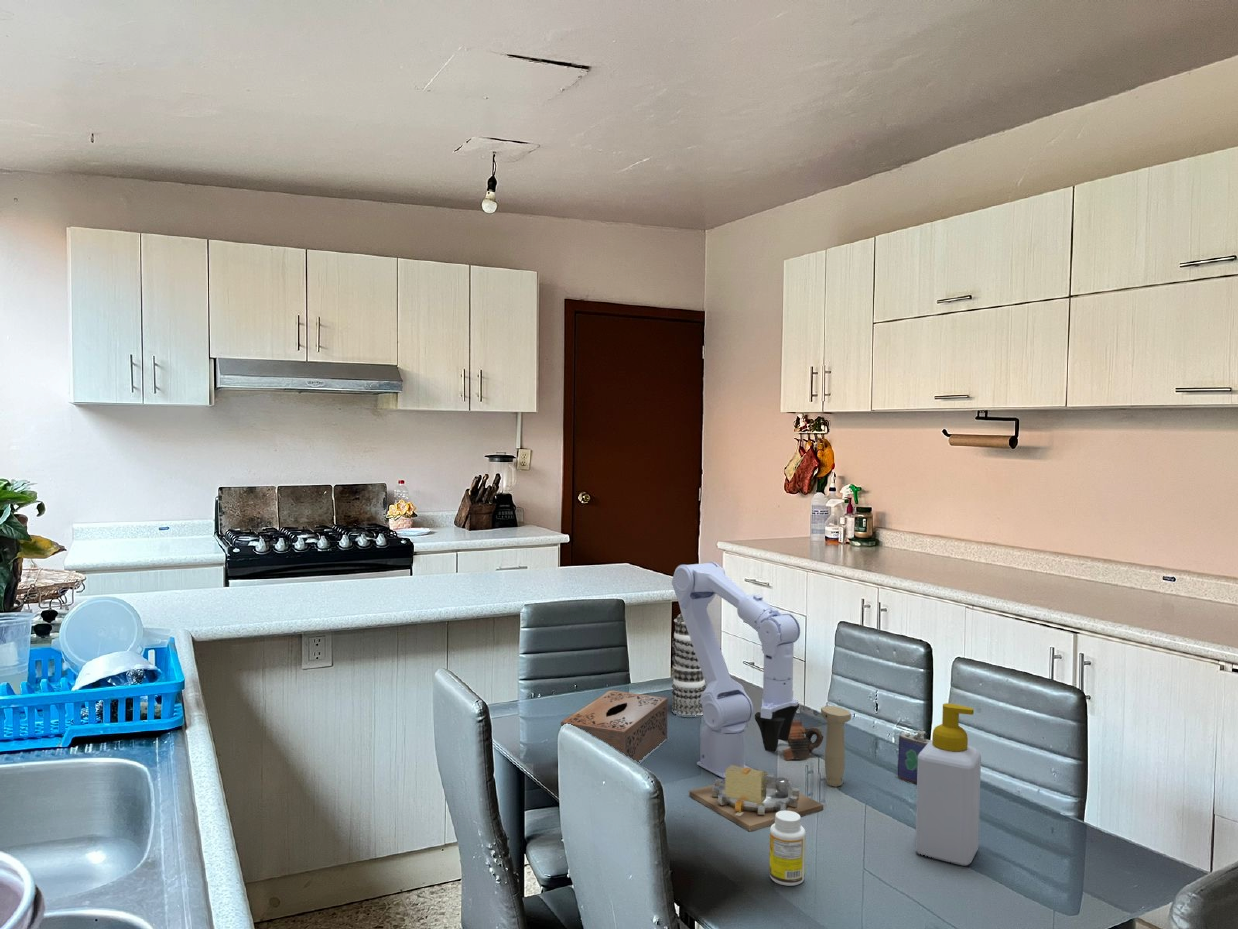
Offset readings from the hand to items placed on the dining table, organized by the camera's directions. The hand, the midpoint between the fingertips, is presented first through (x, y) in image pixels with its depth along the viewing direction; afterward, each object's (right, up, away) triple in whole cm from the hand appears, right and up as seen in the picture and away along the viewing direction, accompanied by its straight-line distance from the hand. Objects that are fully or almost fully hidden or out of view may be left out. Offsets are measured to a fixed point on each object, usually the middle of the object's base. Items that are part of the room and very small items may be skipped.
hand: (776, 745), depth 177 cm
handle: (+13, -10, +5) cm, 16 cm away
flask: (+30, -10, +6) cm, 32 cm away
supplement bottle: (-4, -11, -34) cm, 36 cm away
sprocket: (-5, -8, -5) cm, 11 cm away
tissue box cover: (-32, -9, +21) cm, 39 cm away
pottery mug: (+8, -9, +22) cm, 25 cm away
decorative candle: (-13, -8, +50) cm, 52 cm away
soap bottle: (+25, -11, -24) cm, 36 cm away
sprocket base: (-5, -10, -5) cm, 12 cm away
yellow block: (-7, -7, -10) cm, 14 cm away
